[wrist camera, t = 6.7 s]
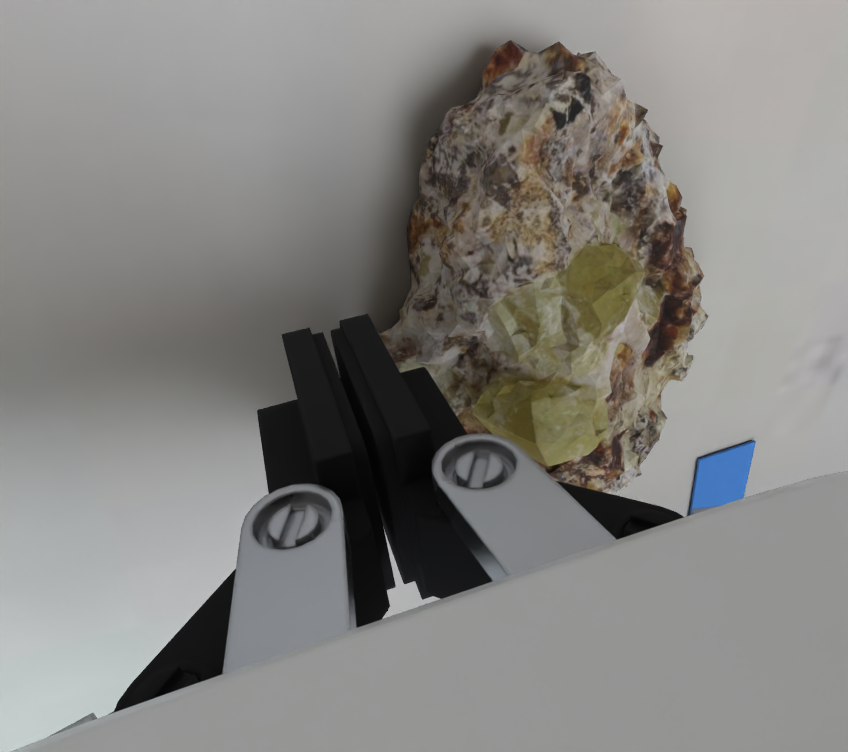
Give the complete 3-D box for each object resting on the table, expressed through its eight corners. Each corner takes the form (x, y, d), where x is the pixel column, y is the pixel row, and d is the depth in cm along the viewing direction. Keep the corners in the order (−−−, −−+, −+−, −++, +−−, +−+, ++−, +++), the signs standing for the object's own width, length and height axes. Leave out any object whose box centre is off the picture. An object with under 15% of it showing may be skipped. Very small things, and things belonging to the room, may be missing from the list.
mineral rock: (739, 480, 16) (493, 660, 13) (608, 410, 19) (386, 537, 16) (819, -11, 10) (415, 84, 7) (615, 9, 14) (276, 80, 10)
